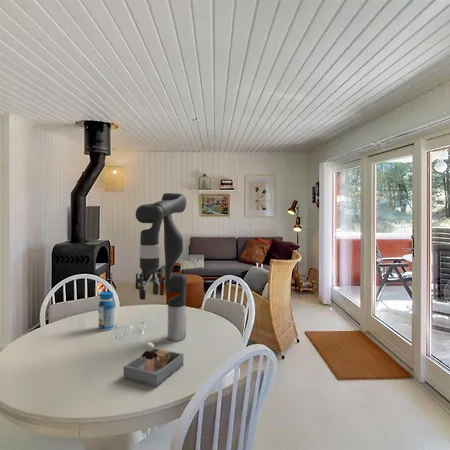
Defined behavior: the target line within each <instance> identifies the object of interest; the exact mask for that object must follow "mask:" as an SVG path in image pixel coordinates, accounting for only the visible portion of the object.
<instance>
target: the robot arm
mask: <svg viewBox="0 0 450 450" xmlns="http://www.w3.org/2000/svg"><path fill="white" fill-rule="evenodd" d="M186 207H187V199H186V196H185V195H184V194H181V193H175V192H174V193H173V192H171V193H170V192H165V193H163V195H162V197H161V200H158V201H155V202H154V203H153V202H152V203H146V204H141V205H139V206H138V207H137V208H136V210H135V213H134V214H135V219H136V220H137V222H139V223H141V224H151V227H150V228H146V229H142V230H141V232H140V237H139V238H140V247H139V269H141V273H138V272H137V273H136V274H135V287H134V288H135V290H138V291H139V294H138V295H139V296H138V297H139V300H142V301H144V300H146V297H147V296H146V295H147V294H146V292H147V291H146V289H147V287H148V286H149V283H152V294H153V295H156V296H157V295H159V288H160V287H159V286H160V284H162V283H163V269H162V268H160V245H159V242H160V241H159V240H160V239H159V237H160V230H161V226H162V223H163V235H164V236H163V246H164V247H163V248H164V249H163V250H164V261H165V263H164V265H165V268H164V269H165V272H164V288H165V291H166V292H168V293H178V294H177V295H176V296H173V297H171V298H169V299H168V300H167V340H170V341H173V342H174V341H176V342H179V341H183V340H185V339H186V336H187V317H186V316H187V315H186V313H187V312H186V311H187V308H186V307H187V305H186V304H187V301H186V300H187V299H186V298H187V283H188V281H187V279H188V278H187V276H186V274H184V273H173V269H174V266H175V264H176V262H177V261H178V260H179V258H180V257H181V255H182V253H183V251H184V240H183V235H182V234H181V231H180V230H179V229H178V227H177V226H176V224H175V223H174V219H173V216H172V214H178V213H183V212H184V211H185V209H186Z"/></svg>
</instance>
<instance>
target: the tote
mask: <svg viewBox="0 0 450 450" xmlns="http://www.w3.org/2000/svg"><path fill="white" fill-rule="evenodd" d="M159 350H163V349H161V348H156V347H154V348H153V350H152V351H153V352H155V353H156V352H157V351H159ZM164 350H165V351H169V352H170V363H169V364H168V365H166V366H165V367H164V368H161V367H157V366H154V372H150V371H146V370H144V366H145V358H146V357H144V358H143V360H141V356H142V354H141V355H139V356H137V357H135V358H133V360H130V361H129V362H128V363H126V364H124V365H123V379H124V380H128V381H131V382H136V383H139V384H142V385H147V386H150V387H153V388H158V387H159V386H160V385H162V384H163V383H164V382H166V381H167V380H168V379H169V378H170V377H171V376H172V374H173V373H174V372H175V371H176V372H178V371H179V370H180V369H181V368H182V367H183V366H184V353H182V352H175V351H173V350H172V351H171V350H166V349H164ZM181 366H182V367H181ZM180 367H181V368H180ZM179 368H180V369H179ZM178 369H179V370H178ZM176 372H175V373H176ZM175 373H174V374H175ZM174 374H173V375H174ZM167 378H168V379H167ZM166 379H167V380H166Z"/></svg>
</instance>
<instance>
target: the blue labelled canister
mask: <svg viewBox="0 0 450 450" xmlns="http://www.w3.org/2000/svg"><path fill="white" fill-rule="evenodd" d="M113 294H114V292H113V291H108V290H107V291H101V292H100V293H99V302H98V310H97V312H98V330H99V331H110V330H113V329H114V328H115V307H114V306H115V301H114V300H113V298H114V295H113ZM113 327H114V328H113ZM112 328H113V329H112Z"/></svg>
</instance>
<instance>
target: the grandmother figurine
mask: <svg viewBox="0 0 450 450" xmlns="http://www.w3.org/2000/svg"><path fill="white" fill-rule="evenodd" d="M145 347H146V349H145V351H144V352H143V353H142V354H141V355H142V356H141V360H143V358H144V357H146V358H145V366H144V370H146V371H150V372H154V358H153V357H155V358H156V359H157V361H159V357H158V355H157V354H156V353H155V352H153V351H152V350H153V348H155V345H154V343H153V342H150V341H148V342H146V343H145Z"/></svg>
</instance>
